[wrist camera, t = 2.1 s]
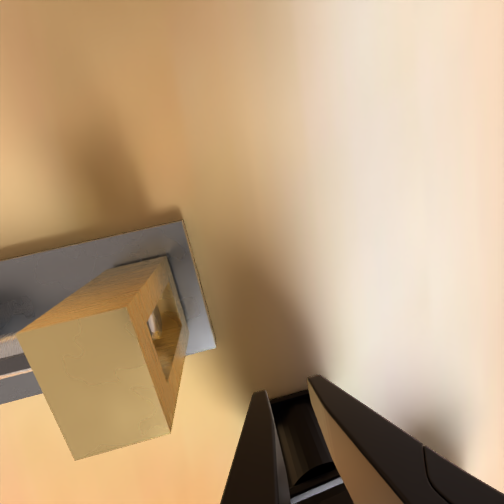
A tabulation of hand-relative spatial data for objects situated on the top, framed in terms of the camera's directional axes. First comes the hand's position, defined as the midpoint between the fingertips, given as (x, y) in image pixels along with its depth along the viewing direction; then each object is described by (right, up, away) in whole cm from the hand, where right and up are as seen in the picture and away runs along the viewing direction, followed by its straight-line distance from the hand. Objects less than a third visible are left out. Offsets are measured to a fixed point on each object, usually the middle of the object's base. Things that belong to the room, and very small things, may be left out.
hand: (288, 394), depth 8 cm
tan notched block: (-8, +1, +11) cm, 13 cm away
